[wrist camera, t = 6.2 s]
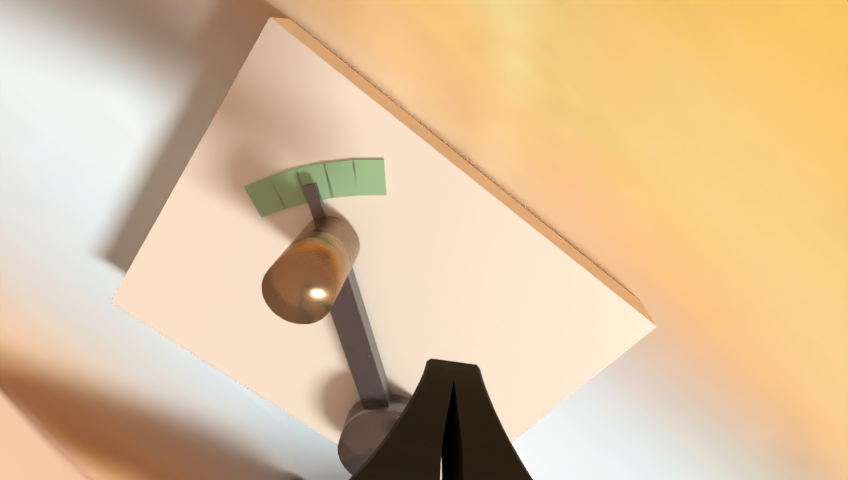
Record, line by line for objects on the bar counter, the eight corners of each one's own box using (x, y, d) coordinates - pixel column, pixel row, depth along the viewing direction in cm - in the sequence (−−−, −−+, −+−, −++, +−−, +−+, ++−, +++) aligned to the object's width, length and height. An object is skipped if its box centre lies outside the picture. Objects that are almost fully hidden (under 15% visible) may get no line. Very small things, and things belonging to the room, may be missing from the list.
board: (435, 472, 27) (433, 506, 25) (138, 281, 23) (108, 303, 22) (641, 301, 21) (657, 328, 19) (290, 18, 18) (268, 17, 16)
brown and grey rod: (444, 458, 23) (438, 537, 20) (359, 465, 24) (339, 543, 20) (365, 171, 18) (338, 207, 14) (258, 193, 18) (206, 232, 15)
